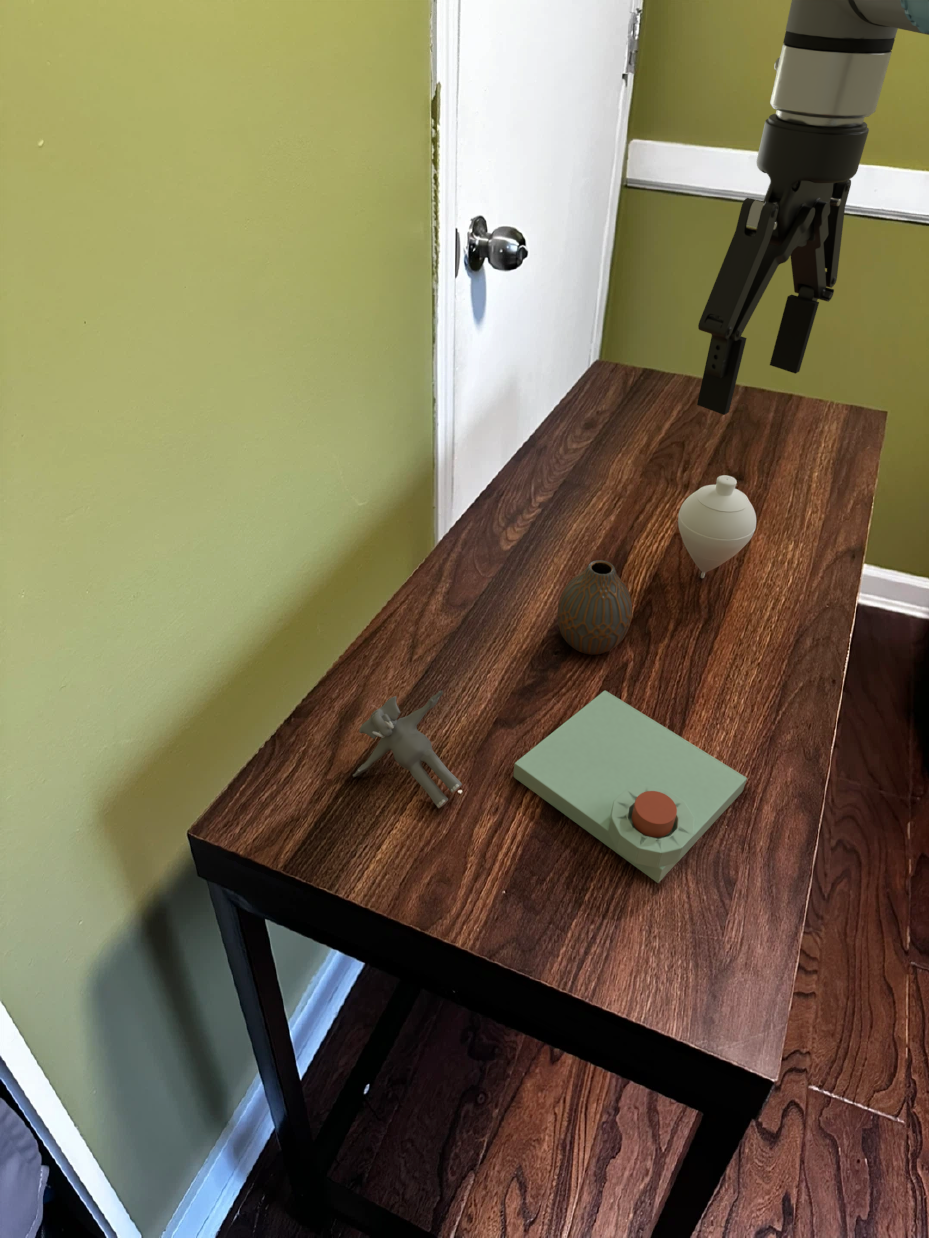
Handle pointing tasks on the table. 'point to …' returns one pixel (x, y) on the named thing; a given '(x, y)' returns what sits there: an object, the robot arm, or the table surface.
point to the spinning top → (716, 523)
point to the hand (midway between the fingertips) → (750, 388)
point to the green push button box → (628, 780)
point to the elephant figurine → (408, 746)
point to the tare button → (654, 814)
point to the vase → (595, 609)
